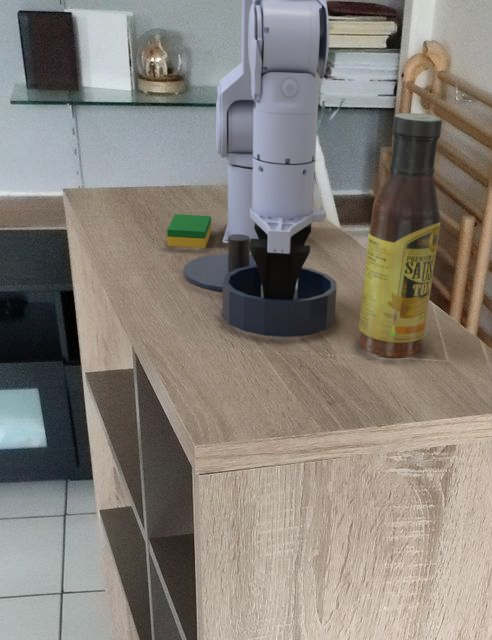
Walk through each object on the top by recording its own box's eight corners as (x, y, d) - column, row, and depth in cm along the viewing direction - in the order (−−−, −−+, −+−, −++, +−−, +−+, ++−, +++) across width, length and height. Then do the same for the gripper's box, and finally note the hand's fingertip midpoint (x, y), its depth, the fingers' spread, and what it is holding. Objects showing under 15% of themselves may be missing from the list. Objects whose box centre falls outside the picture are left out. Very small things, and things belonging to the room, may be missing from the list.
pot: (228, 299, 95) (228, 261, 93) (333, 305, 95) (336, 267, 93) (218, 338, 86) (218, 297, 84) (334, 344, 87) (337, 304, 84)
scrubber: (175, 234, 113) (174, 213, 111) (211, 236, 113) (211, 216, 112) (168, 250, 107) (167, 229, 106) (205, 252, 108) (205, 231, 106)
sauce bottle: (403, 368, 83) (433, 126, 70) (345, 351, 85) (364, 115, 73) (433, 347, 87) (467, 116, 75) (377, 332, 90) (400, 106, 77)
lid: (190, 260, 105) (189, 219, 102) (294, 266, 105) (296, 225, 102) (177, 295, 95) (175, 250, 92) (291, 301, 95) (293, 257, 93)
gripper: (327, 179, 76) (318, 335, 84) (327, 144, 87) (319, 285, 96) (244, 174, 76) (243, 331, 84) (255, 140, 87) (253, 282, 96)
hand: (279, 307), depth 90 cm, fingers open, 5 cm apart
